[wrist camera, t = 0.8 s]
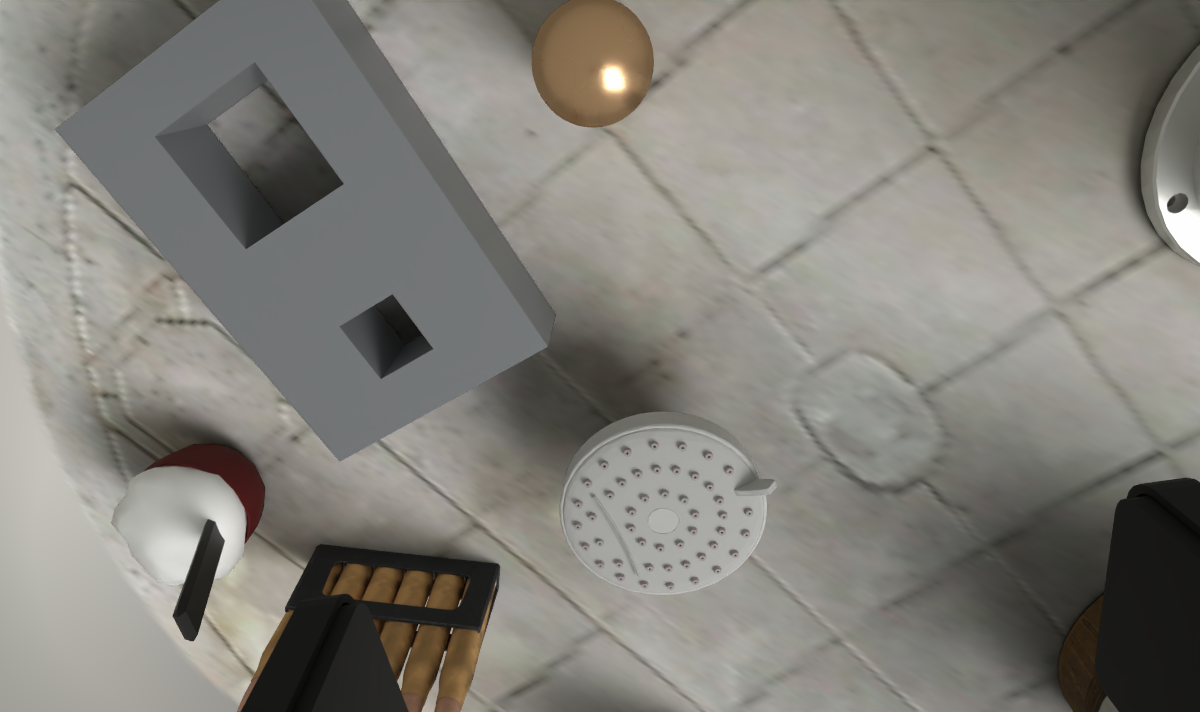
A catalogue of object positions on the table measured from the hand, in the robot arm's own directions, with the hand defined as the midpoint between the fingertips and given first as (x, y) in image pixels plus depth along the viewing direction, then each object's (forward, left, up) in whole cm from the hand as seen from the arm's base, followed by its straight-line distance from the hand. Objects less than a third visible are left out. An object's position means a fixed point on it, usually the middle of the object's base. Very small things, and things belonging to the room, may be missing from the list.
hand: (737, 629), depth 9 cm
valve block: (+13, -6, -27) cm, 30 cm away
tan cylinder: (-1, -6, -27) cm, 27 cm away
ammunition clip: (+23, +12, -27) cm, 37 cm away
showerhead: (+6, +12, -27) cm, 30 cm away
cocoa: (+28, +2, -27) cm, 39 cm away
